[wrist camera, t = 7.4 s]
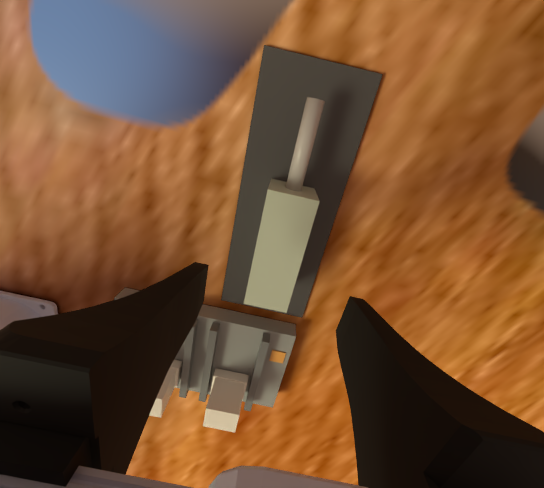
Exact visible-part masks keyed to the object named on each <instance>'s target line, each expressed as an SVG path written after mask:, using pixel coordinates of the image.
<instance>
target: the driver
mask: <svg viewBox="0 0 544 488" xmlns="http://www.w3.org/2000/svg"><path fill="white" fill-rule="evenodd" d="M324 103H325V101H323V100H319V99H316V98H310V97H307V99H306V103H305V108H304V112H303V116H302V120H301V124H300V129H299V133H298V137H297V141H296V145H295V150H294V154H293V158H292V162H291V166H290V171H289V175H288V179H287V182H284V181H280V180H276V179H271V182H270V184H269V187H268V190H267V195H266V200H265V205H264V209H263V214H262V219H261V224H260V228H259V233H258V238H257V242H256V247H255V252H254V257H253V261H252V266H251V271H250V276H249V280H248V285H247V290H246V295H245V299H244V304H247V305H252V306H256V307H261V308H266V309H270V310H275V311H279V312H284V313H287V310H288V306H289V303H290V299H291V296H292V293H293V289H294V286H295V283H296V279H297V276H298V273H299V269H300V266H301V263H302V259H303V256H304V252H305V249H306V246H307V242H308V239H309V236H310V232H311V229H312V226H313V222H314V219H315V215H316V212H317V209H318V205H319V202H320V201H319V198H318V196H317V194H316V191H315V189H314V188H310V187H306V186H303V182H304V178H305V175H306V171H307V167H308V163H309V159H310V156H311V152H312V148H313V144H314V140H315V137H316V133H317V129H318V125H319V121H320V118H321V114H322V110H323V106H324Z"/></svg>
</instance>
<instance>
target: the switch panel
mask: <svg viewBox="0 0 544 488" xmlns="http://www.w3.org/2000/svg"><path fill="white" fill-rule="evenodd" d="M138 291H139V290H134V289H130V288H124V289H123V290H122V291H121V292H120V293H119V294H118V295H117V296H116V297H115V298H114V300H117V299H120V298H123V297H125V296H128V295H131V294H133V293H136V292H138ZM295 339H296V324H292V323H287V322H283V321H278V320H273V319H269V318H264V317H260V316H255V315H250V314H246V313H241V312H236V311H232V310H227V309H222V308H218V307H213V306H209V305H204V304H202V307H201V309H200V312H199V314H198V317H197V319H196V321H195V323H194V325H193V327H192V329H191V330H190V332H189V334H188V336H187V338H186V339H185V341H184V343H183V345H182V346H181V348H180V350H179V352H178V354H177V355H176V357H175V359H174V360H179V361H182V370H181V379H180V382H179V384H178V387H176V388H180V394H179V397H183V398H186V396H187V393H188V391H189V390H190V391H195V392H200V395H199V401H203V402H205V401H206V398H207V395H208V394H210V392H211V386H212V381H213V375H214V372H215V369H216V368H217V369H222V370H227V371H232V372H236V373H241V374H246V375H249V376H248V382H247V386H246V390H245V394H244V398H243V401H244V402H245V406H244V410H247V411H251V407H252V404H253V403H254V404H259V405H263V406H268V407H273V405H274V402H275V399H276V396H277V393H278V390H279V387H280V384H281V381H282V378H283V375H284V372H285V369H286V366H287V363H288V360H289V357H290V354H291V351H292V348H293V345H294V342H295Z"/></svg>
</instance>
